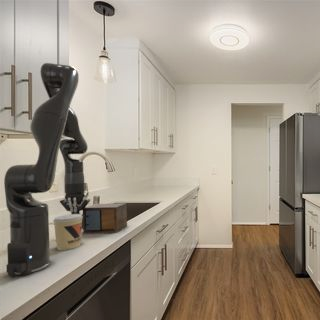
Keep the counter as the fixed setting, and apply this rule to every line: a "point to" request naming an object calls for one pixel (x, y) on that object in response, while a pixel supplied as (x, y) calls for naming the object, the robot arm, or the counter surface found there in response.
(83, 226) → the sliding lid with handle
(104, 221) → the cupboard
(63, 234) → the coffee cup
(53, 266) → the counter surface
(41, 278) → the counter surface
